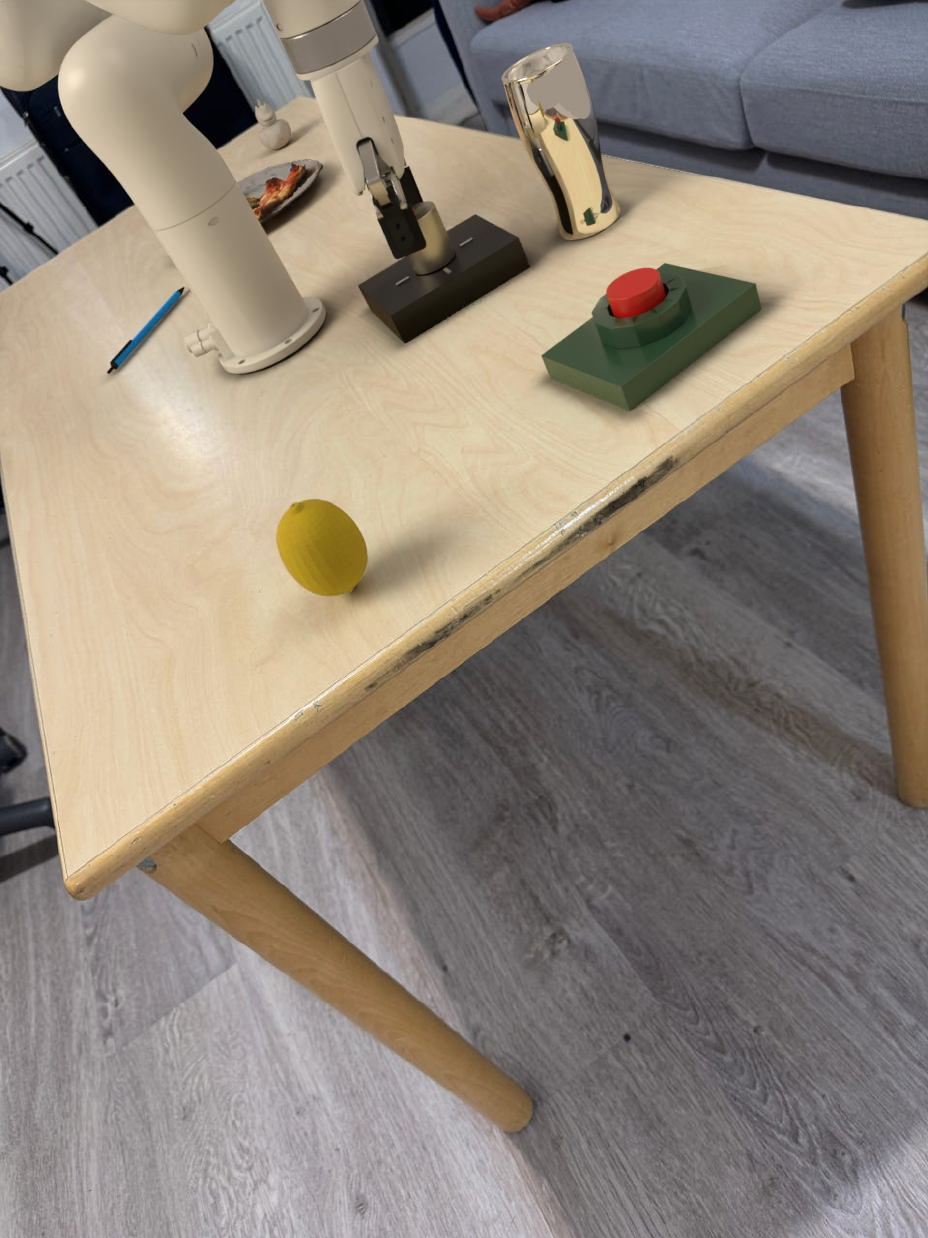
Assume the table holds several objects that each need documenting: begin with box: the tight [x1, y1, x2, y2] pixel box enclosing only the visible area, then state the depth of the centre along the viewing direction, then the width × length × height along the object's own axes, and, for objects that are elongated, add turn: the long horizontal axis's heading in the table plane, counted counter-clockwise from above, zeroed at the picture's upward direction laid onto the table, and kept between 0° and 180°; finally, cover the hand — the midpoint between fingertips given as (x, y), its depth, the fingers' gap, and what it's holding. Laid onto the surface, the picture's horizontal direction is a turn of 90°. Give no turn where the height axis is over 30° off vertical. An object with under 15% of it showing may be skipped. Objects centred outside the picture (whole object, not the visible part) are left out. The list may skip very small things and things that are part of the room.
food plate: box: [236, 158, 324, 225], centre depth 141 cm, size 25×23×4 cm
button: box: [605, 267, 666, 318], centre depth 72 cm, size 4×4×2 cm
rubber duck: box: [254, 98, 292, 150], centre depth 161 cm, size 5×7×8 cm
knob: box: [407, 200, 455, 275], centre depth 93 cm, size 4×4×5 cm
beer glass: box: [500, 42, 622, 241], centre depth 89 cm, size 7×7×15 cm
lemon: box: [275, 498, 369, 597], centre depth 66 cm, size 6×6×8 cm
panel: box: [357, 213, 531, 344], centre depth 96 cm, size 14×11×3 cm
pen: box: [106, 286, 186, 375], centre depth 124 cm, size 1×19×1 cm, turn 160°
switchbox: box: [541, 262, 762, 412], centre depth 73 cm, size 13×10×4 cm
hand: (410, 231), depth 93 cm, fingers open, 9 cm apart
